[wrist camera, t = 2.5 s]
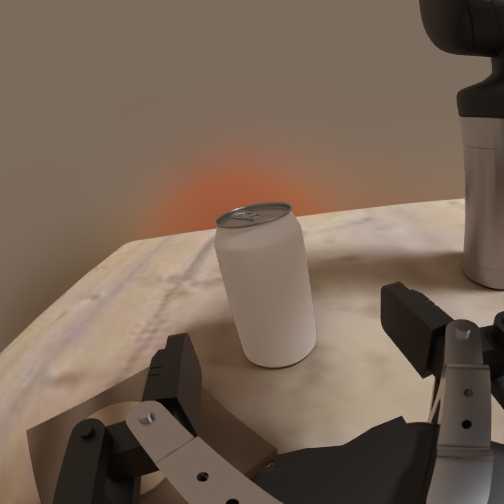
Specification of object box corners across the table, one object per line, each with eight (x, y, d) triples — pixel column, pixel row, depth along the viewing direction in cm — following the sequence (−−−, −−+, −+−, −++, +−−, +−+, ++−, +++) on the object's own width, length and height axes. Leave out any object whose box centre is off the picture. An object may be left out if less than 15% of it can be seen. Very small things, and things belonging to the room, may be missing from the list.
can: (273, 383, 22) (239, 234, 17) (230, 347, 27) (194, 222, 23) (332, 341, 25) (317, 203, 20) (284, 316, 30) (262, 198, 26)
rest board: (172, 363, 26) (166, 352, 25) (278, 456, 15) (274, 445, 15) (32, 437, 17) (23, 427, 17) (74, 569, 7) (59, 563, 6)
